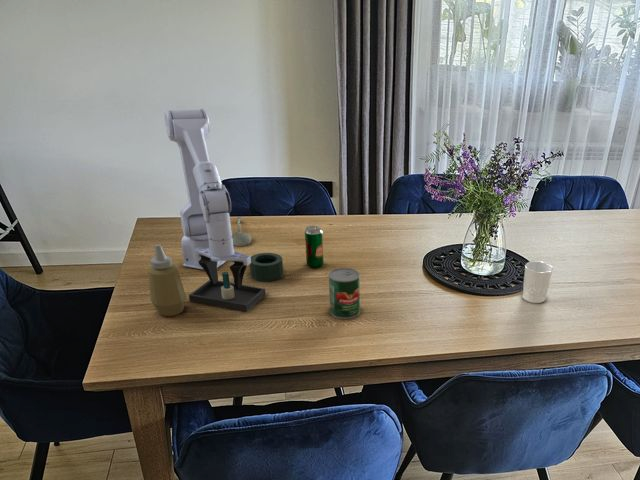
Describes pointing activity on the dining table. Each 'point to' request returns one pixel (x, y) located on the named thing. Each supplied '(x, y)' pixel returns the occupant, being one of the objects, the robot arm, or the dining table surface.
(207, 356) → the dining table surface
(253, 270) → the jar
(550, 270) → the white cup
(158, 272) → the squeeze bottle
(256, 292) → the tray
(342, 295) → the canned tomato
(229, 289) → the teal peg on base
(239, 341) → the dining table surface
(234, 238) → the soupspoon
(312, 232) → the soda can
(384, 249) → the dining table surface
